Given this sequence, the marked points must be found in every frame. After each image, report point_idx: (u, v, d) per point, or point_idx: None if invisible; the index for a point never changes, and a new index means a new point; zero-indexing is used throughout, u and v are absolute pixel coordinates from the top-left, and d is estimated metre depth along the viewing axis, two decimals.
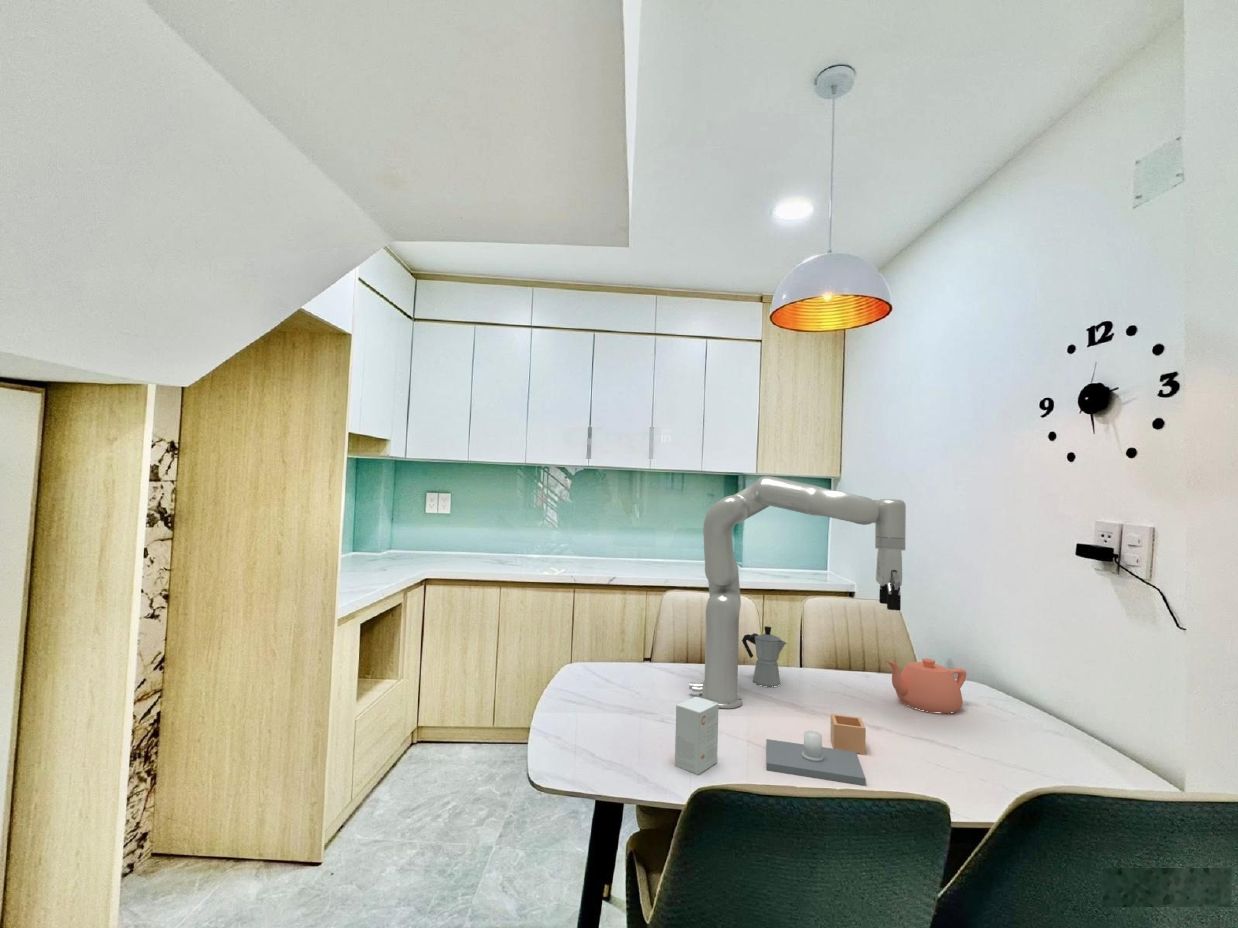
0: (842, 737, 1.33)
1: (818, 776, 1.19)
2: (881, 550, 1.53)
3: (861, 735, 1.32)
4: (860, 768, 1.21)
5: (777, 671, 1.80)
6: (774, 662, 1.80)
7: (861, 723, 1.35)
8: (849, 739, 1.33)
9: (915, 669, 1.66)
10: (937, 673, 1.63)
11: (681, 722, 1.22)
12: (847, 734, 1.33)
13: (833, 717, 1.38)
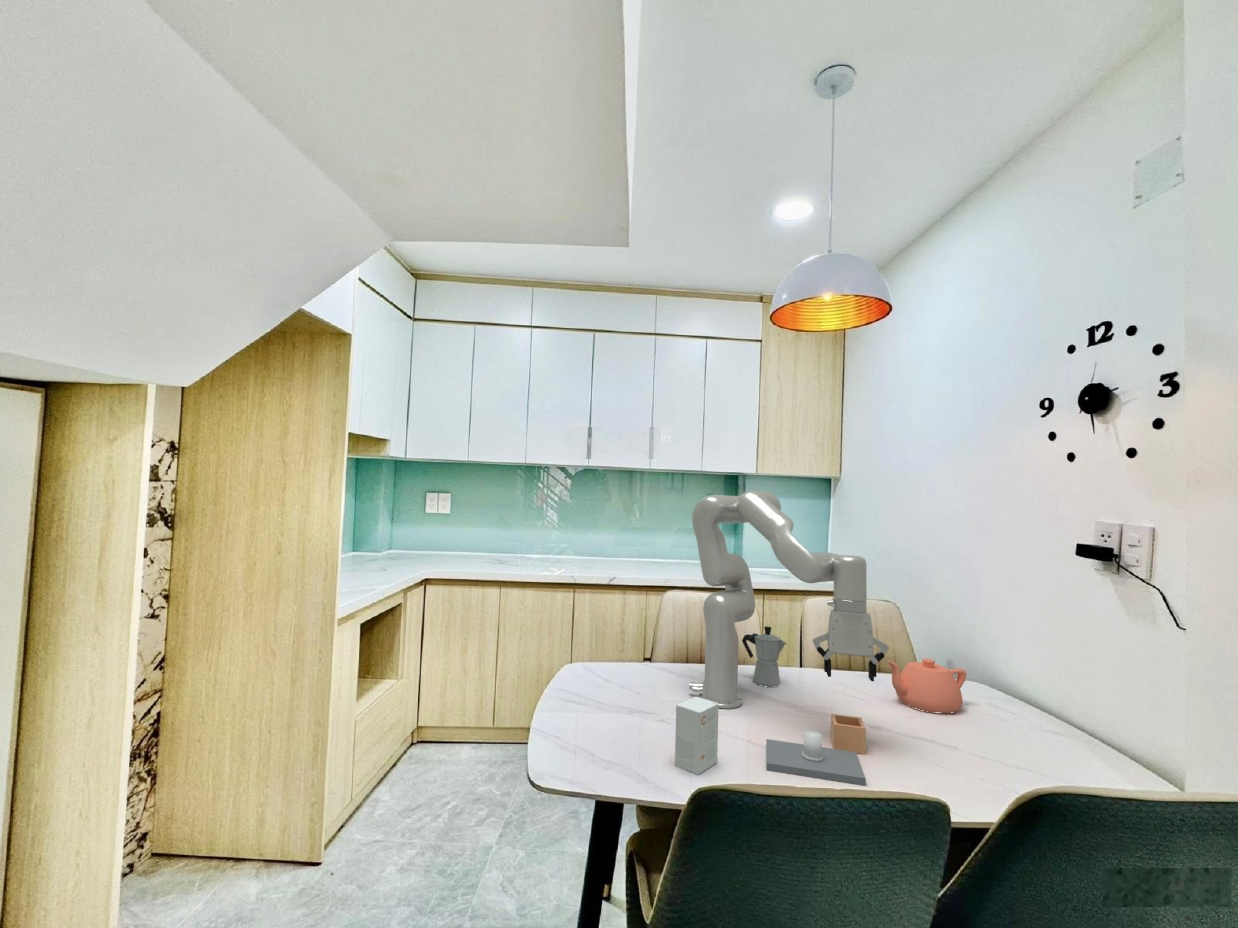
0: (842, 737, 1.33)
1: (818, 776, 1.19)
2: (859, 616, 1.35)
3: (861, 735, 1.32)
4: (860, 768, 1.21)
5: (777, 671, 1.80)
6: (774, 662, 1.80)
7: (861, 723, 1.35)
8: (849, 739, 1.33)
9: (915, 669, 1.66)
10: (937, 673, 1.63)
11: (681, 722, 1.22)
12: (847, 734, 1.33)
13: (833, 717, 1.38)
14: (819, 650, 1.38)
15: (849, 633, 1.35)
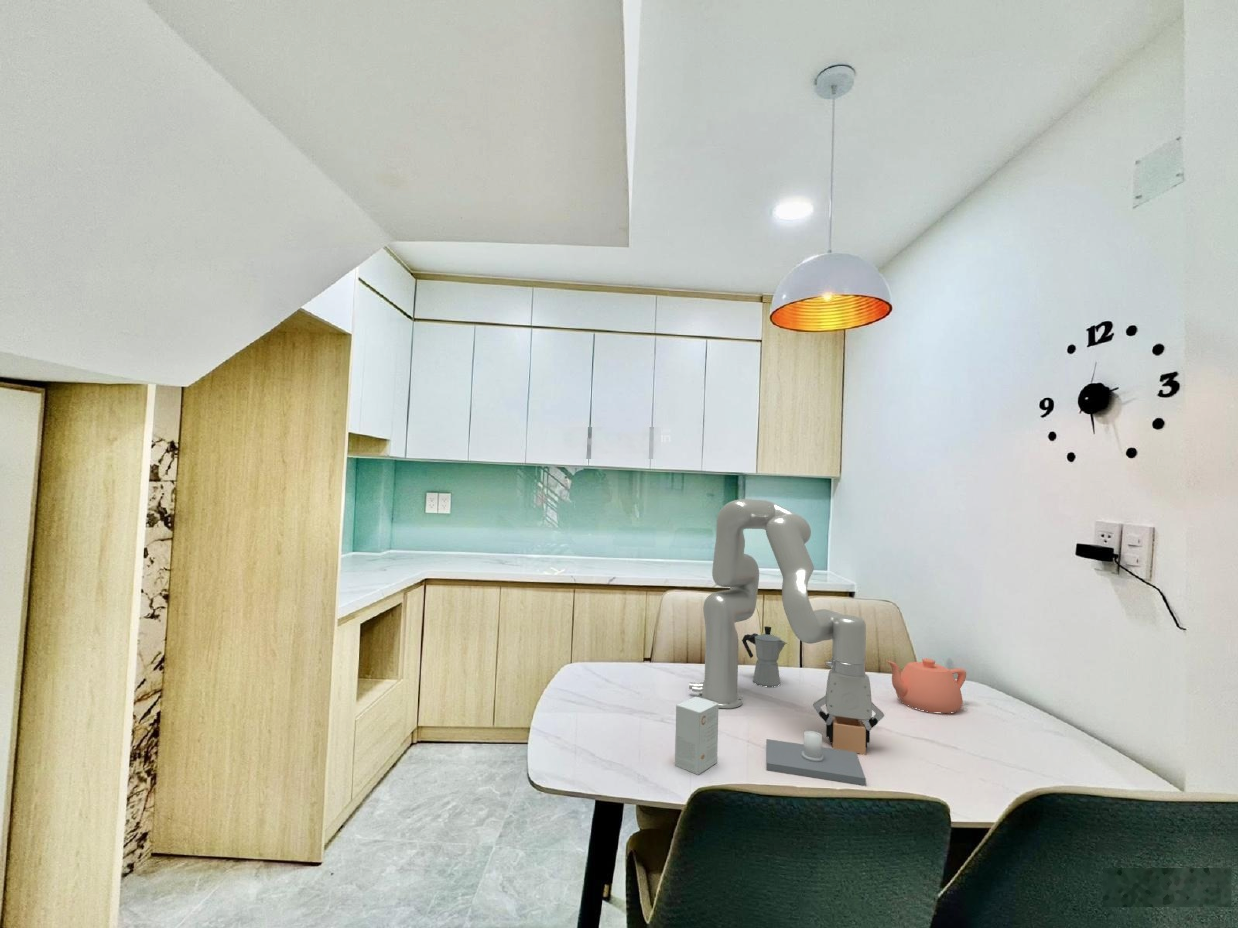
0: (842, 737, 1.33)
1: (818, 776, 1.19)
2: (858, 679, 1.34)
3: (861, 735, 1.32)
4: (860, 768, 1.21)
5: (777, 671, 1.80)
6: (774, 662, 1.80)
7: (861, 723, 1.35)
8: (849, 739, 1.33)
9: (915, 669, 1.66)
10: (937, 673, 1.63)
11: (681, 722, 1.22)
12: (847, 734, 1.33)
13: None
14: (821, 715, 1.37)
15: (847, 696, 1.34)
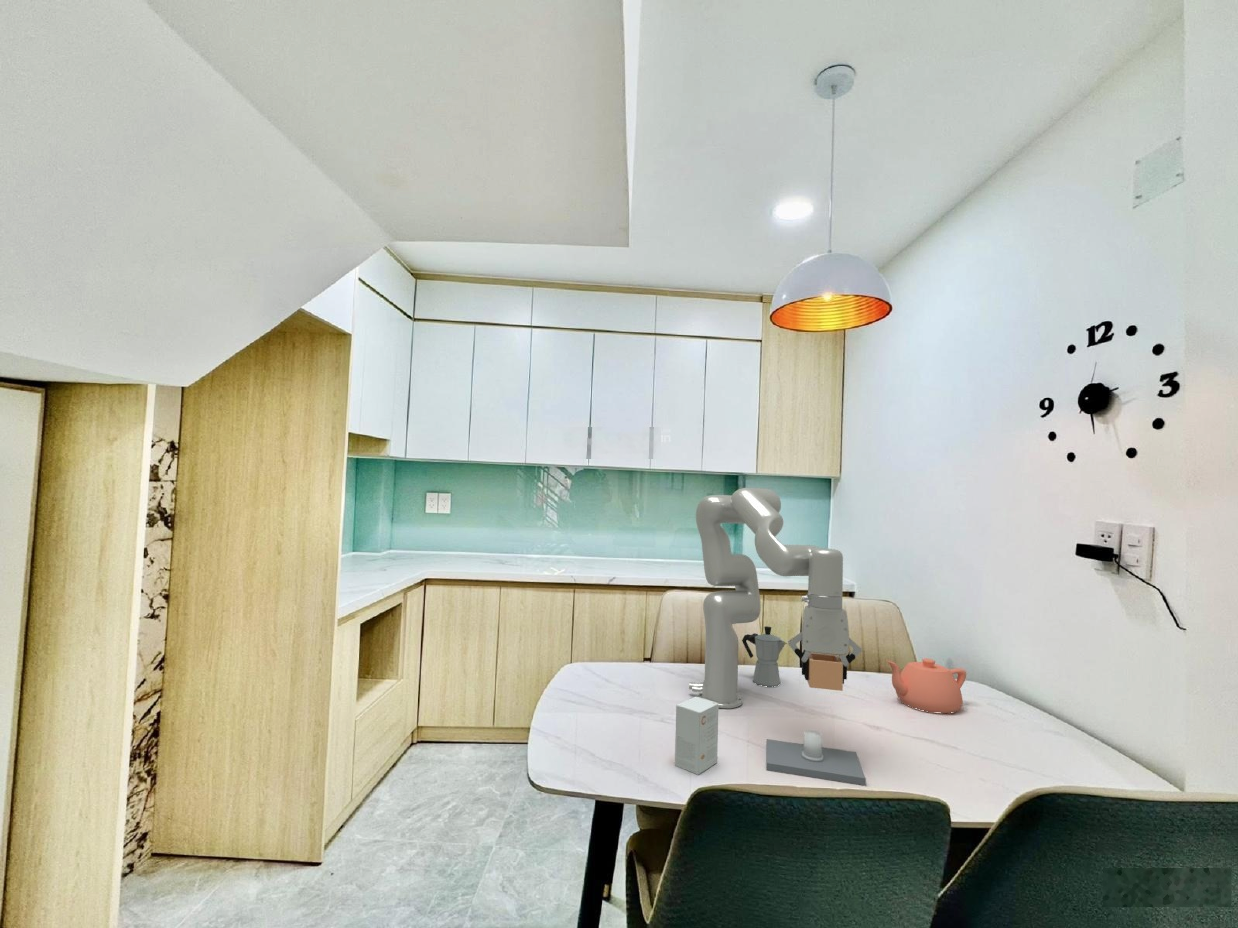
0: (818, 673, 1.26)
1: (818, 776, 1.19)
2: (835, 612, 1.27)
3: (838, 670, 1.25)
4: (860, 768, 1.21)
5: (777, 671, 1.80)
6: (774, 662, 1.80)
7: (838, 659, 1.28)
8: (826, 675, 1.26)
9: (915, 669, 1.66)
10: (937, 673, 1.63)
11: (681, 722, 1.22)
12: (824, 670, 1.26)
13: None
14: (797, 652, 1.30)
15: (824, 630, 1.27)
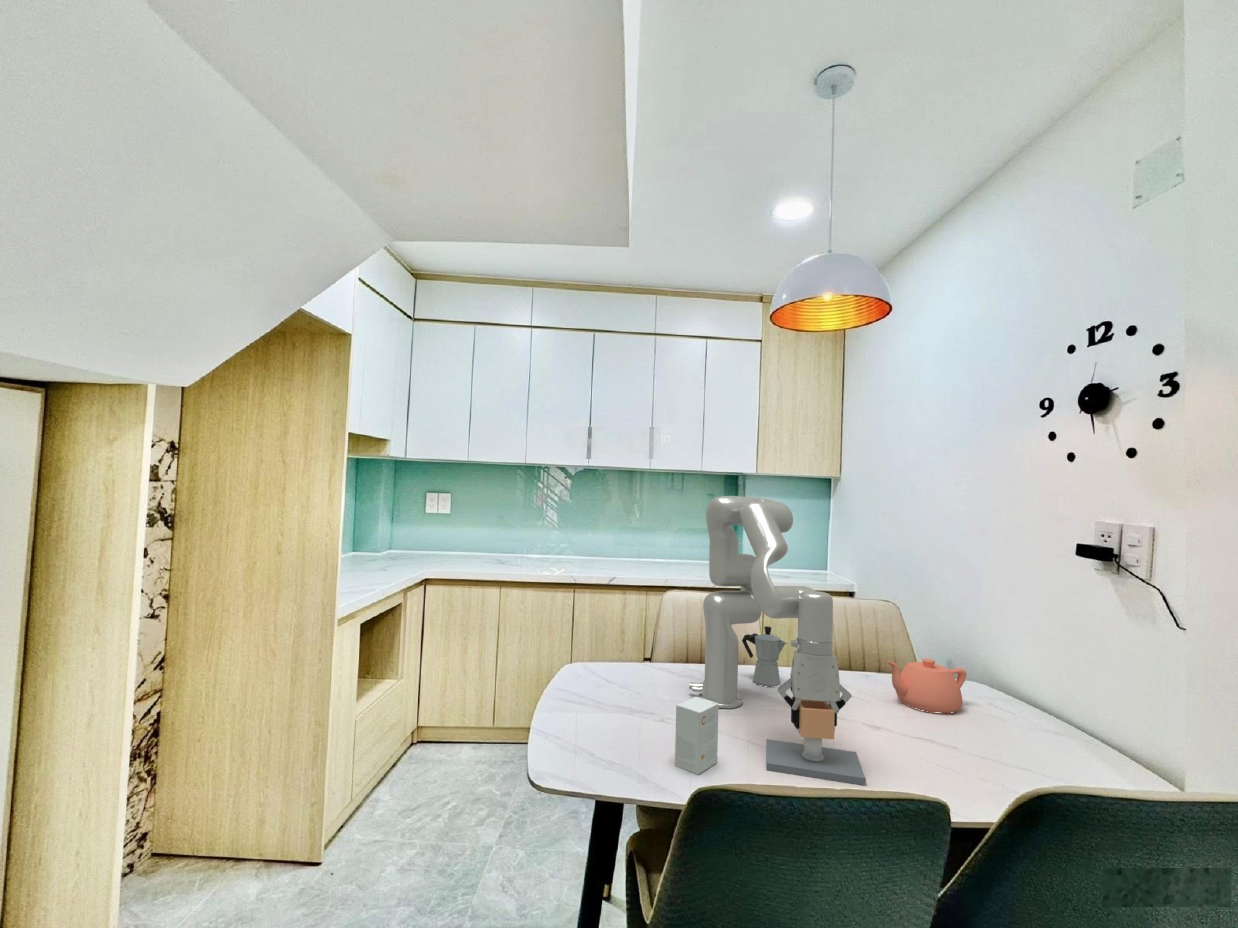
0: (810, 722, 1.23)
1: (818, 776, 1.19)
2: (826, 658, 1.24)
3: (830, 719, 1.22)
4: (860, 768, 1.21)
5: (777, 671, 1.80)
6: (774, 662, 1.80)
7: (828, 706, 1.25)
8: (817, 724, 1.23)
9: (915, 669, 1.66)
10: (937, 673, 1.63)
11: (681, 722, 1.22)
12: (815, 719, 1.23)
13: None
14: (787, 699, 1.26)
15: (815, 677, 1.24)
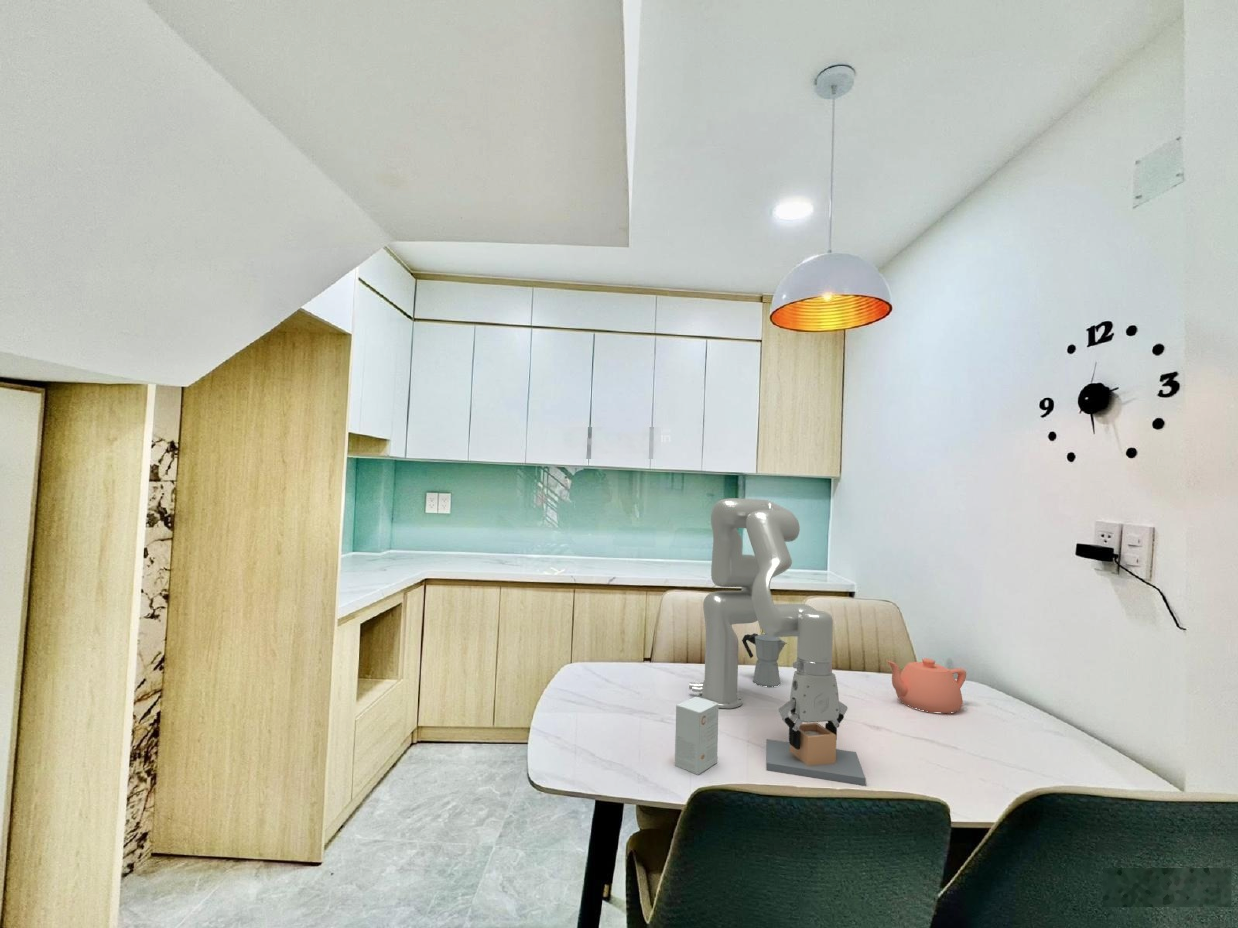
0: (815, 749, 1.22)
1: (818, 776, 1.19)
2: (828, 678, 1.25)
3: (832, 743, 1.23)
4: (860, 768, 1.21)
5: (777, 671, 1.80)
6: (774, 662, 1.80)
7: (825, 729, 1.26)
8: (821, 750, 1.22)
9: (915, 669, 1.66)
10: (937, 673, 1.63)
11: (681, 722, 1.22)
12: (820, 745, 1.22)
13: None
14: (788, 721, 1.24)
15: (819, 698, 1.24)
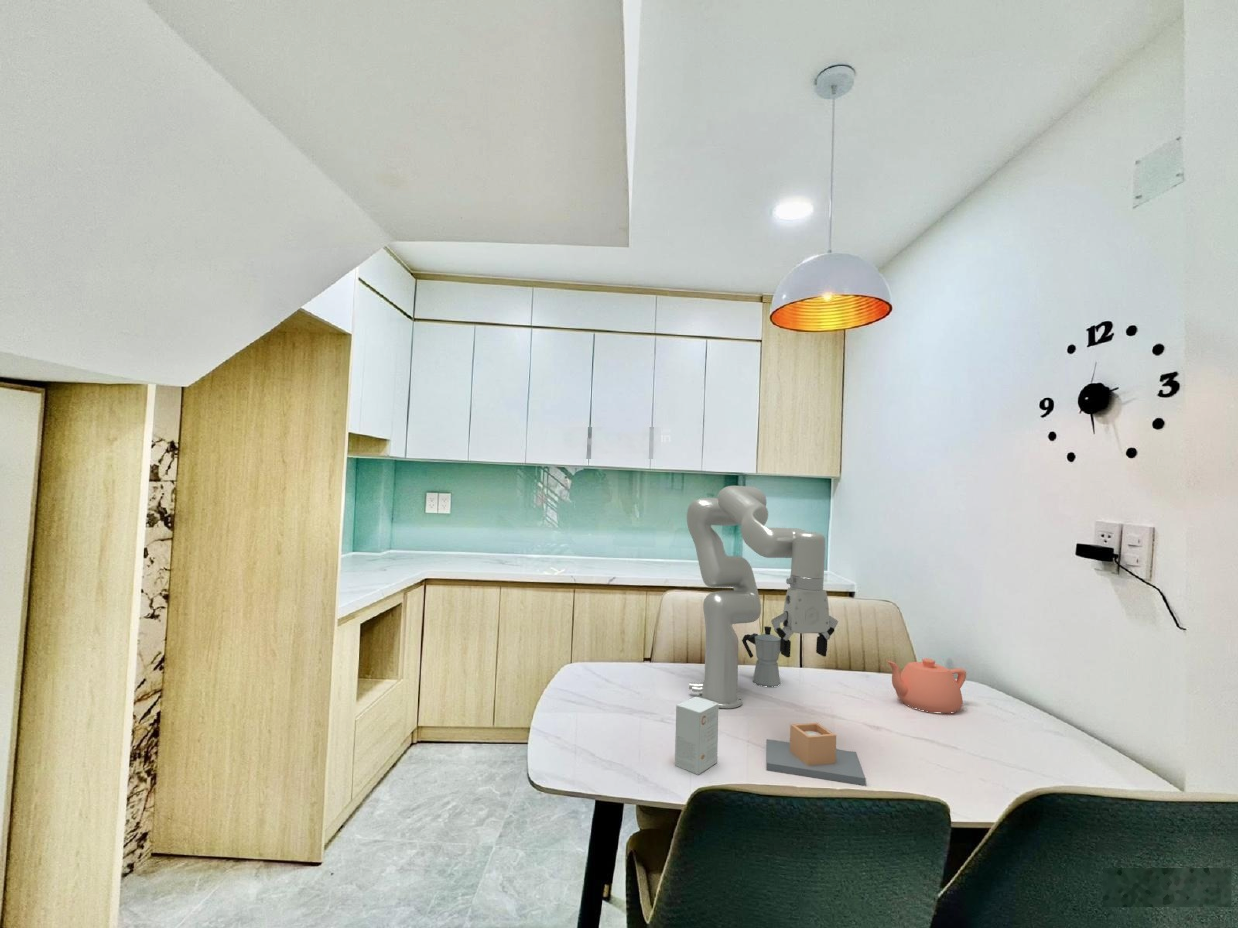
0: (815, 749, 1.22)
1: (818, 776, 1.19)
2: (819, 593, 1.33)
3: (832, 743, 1.23)
4: (860, 768, 1.21)
5: (777, 671, 1.80)
6: (774, 662, 1.80)
7: (825, 729, 1.26)
8: (821, 750, 1.22)
9: (915, 669, 1.66)
10: (937, 673, 1.63)
11: (681, 722, 1.22)
12: (820, 745, 1.22)
13: (797, 728, 1.26)
14: (779, 631, 1.32)
15: (810, 611, 1.32)
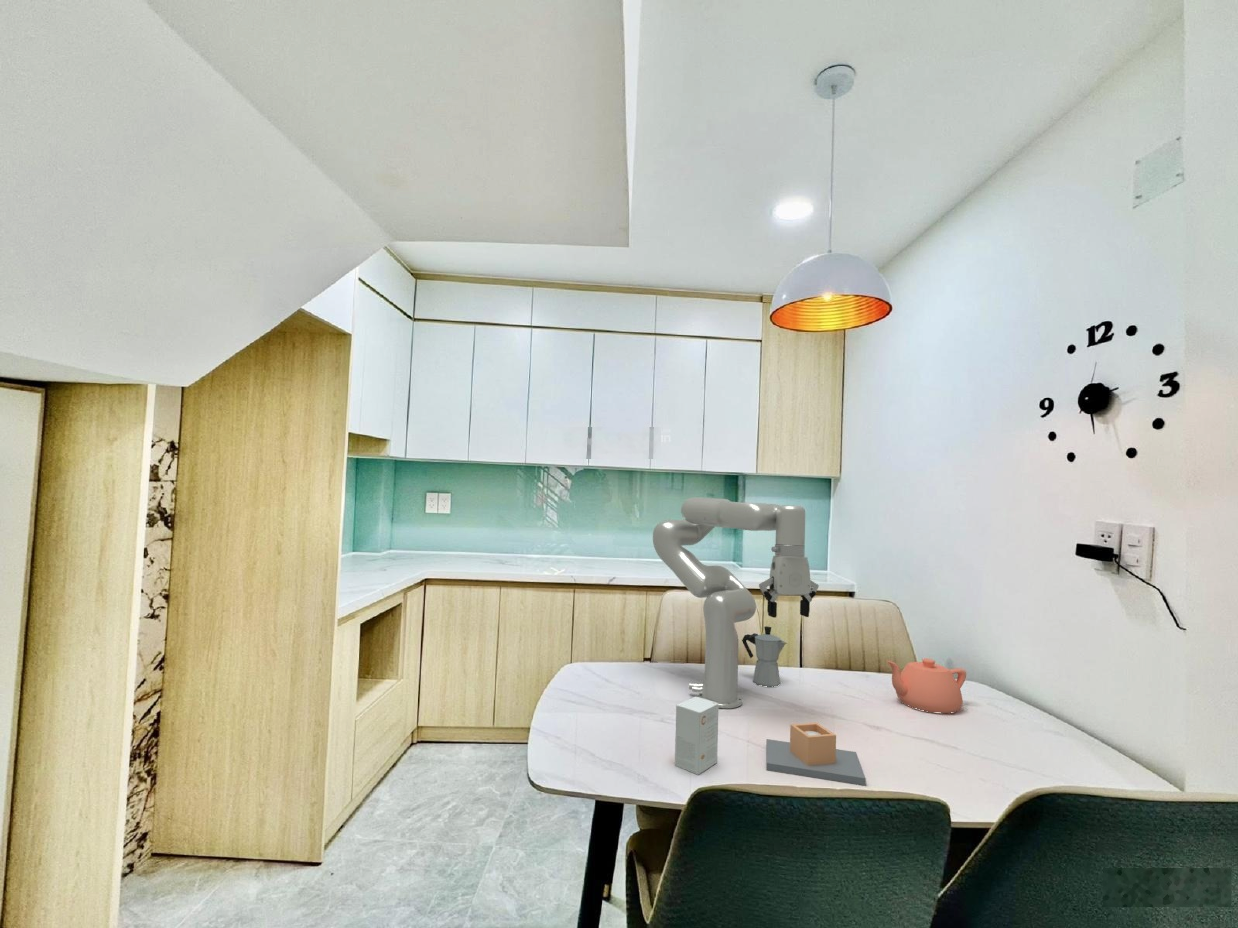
0: (815, 749, 1.22)
1: (818, 776, 1.19)
2: (801, 559, 1.48)
3: (832, 743, 1.23)
4: (860, 768, 1.21)
5: (777, 671, 1.80)
6: (774, 662, 1.80)
7: (825, 729, 1.26)
8: (821, 750, 1.22)
9: (915, 669, 1.66)
10: (937, 673, 1.63)
11: (681, 722, 1.22)
12: (820, 745, 1.22)
13: (797, 728, 1.26)
14: (766, 594, 1.47)
15: (793, 575, 1.47)
